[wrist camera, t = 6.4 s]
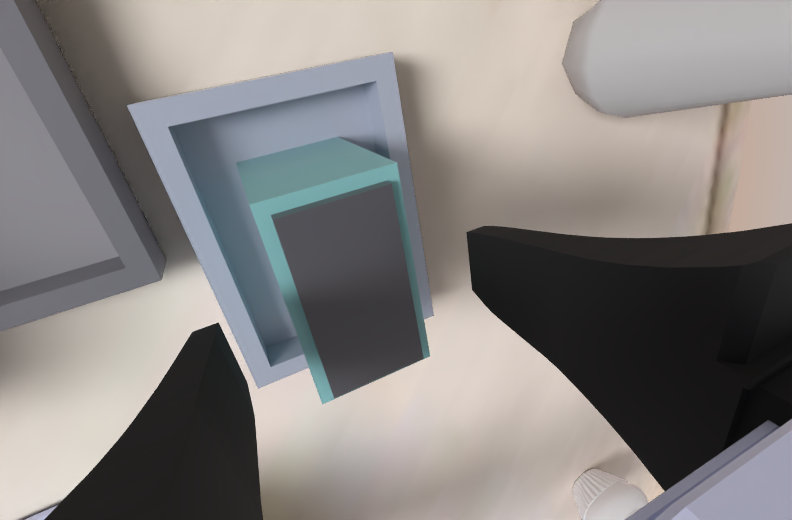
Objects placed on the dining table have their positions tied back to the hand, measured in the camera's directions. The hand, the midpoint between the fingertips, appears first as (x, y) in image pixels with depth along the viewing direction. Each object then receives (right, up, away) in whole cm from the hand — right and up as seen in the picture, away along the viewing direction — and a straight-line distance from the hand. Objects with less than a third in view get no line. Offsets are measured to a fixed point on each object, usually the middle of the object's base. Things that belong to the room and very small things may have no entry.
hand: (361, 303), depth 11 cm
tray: (-3, +3, +6) cm, 8 cm away
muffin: (+19, -20, +27) cm, 38 cm away
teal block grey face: (-3, +2, +6) cm, 7 cm away
